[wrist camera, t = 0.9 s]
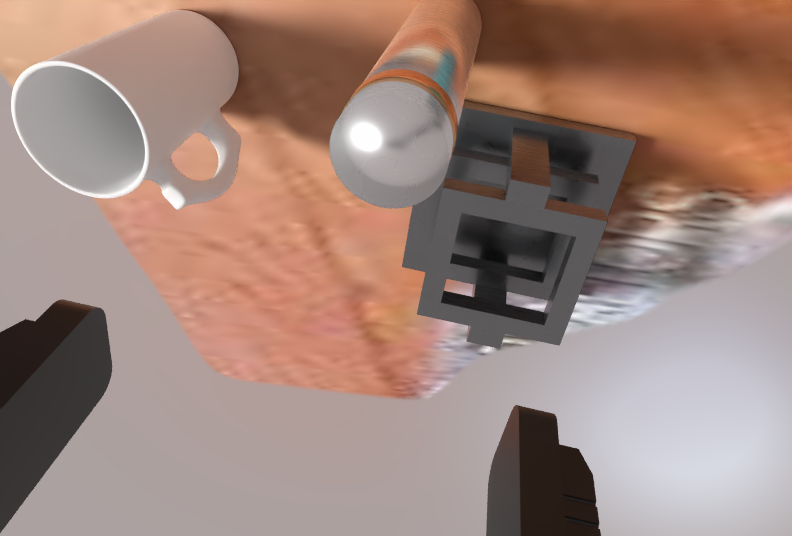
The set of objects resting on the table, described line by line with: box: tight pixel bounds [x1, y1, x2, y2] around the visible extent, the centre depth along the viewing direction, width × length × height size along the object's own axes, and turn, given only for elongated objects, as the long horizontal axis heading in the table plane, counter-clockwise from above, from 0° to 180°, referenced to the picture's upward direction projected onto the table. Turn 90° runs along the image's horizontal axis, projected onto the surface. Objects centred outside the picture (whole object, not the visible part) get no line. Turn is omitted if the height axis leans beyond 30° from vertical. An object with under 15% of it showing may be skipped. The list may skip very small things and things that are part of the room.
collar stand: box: [402, 100, 636, 349], centre depth 37 cm, size 12×12×8 cm
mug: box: [11, 10, 241, 210], centre depth 35 cm, size 10×7×12 cm, turn 41°
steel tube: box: [330, 0, 482, 208], centre depth 28 cm, size 4×4×18 cm
